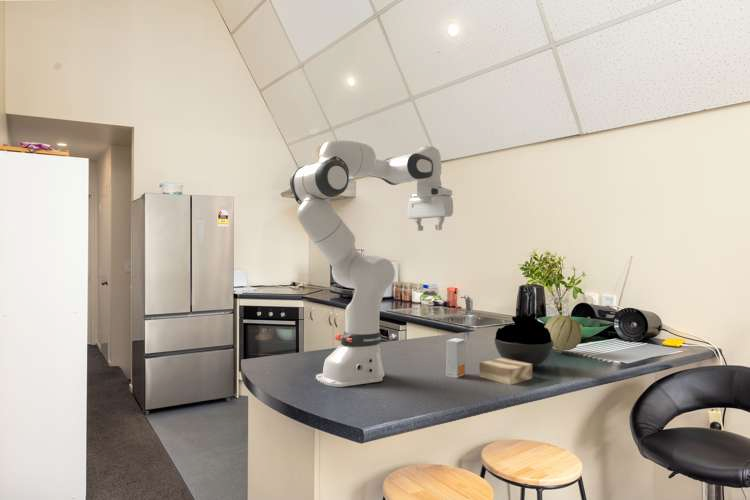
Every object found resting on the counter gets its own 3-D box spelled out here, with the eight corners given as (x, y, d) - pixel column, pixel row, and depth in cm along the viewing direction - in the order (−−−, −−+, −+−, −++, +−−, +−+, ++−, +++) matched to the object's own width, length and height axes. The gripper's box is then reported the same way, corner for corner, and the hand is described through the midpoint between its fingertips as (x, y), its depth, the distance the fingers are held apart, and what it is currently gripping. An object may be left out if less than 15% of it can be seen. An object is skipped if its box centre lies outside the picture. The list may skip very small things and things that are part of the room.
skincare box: (457, 378, 158) (457, 341, 158) (445, 376, 160) (445, 340, 160) (465, 374, 163) (465, 339, 163) (454, 372, 165) (454, 337, 165)
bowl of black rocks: (513, 376, 160) (513, 319, 160) (484, 362, 180) (484, 312, 180) (565, 372, 166) (565, 317, 166) (531, 359, 185) (531, 310, 185)
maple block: (510, 385, 151) (510, 369, 151) (479, 377, 160) (479, 362, 160) (532, 379, 158) (532, 363, 158) (502, 372, 168) (501, 357, 168)
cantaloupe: (536, 348, 205) (536, 313, 205) (562, 345, 211) (562, 311, 211) (563, 355, 192) (563, 317, 192) (589, 351, 198) (589, 315, 198)
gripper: (403, 194, 182) (403, 231, 182) (443, 189, 166) (443, 229, 166) (415, 195, 186) (415, 231, 186) (455, 190, 170) (455, 229, 170)
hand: (429, 230), depth 176 cm, fingers open, 8 cm apart
